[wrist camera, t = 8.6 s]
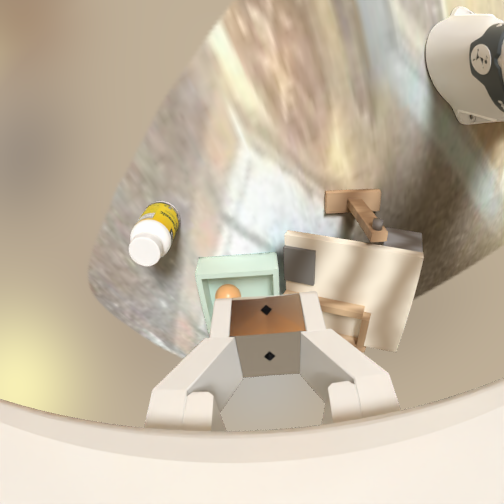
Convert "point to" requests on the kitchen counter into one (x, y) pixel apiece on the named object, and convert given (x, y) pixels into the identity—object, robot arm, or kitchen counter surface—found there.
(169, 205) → the supplement bottle
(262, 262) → the green square tray
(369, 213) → the lever stand
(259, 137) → the kitchen counter surface
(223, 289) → the ball
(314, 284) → the lever
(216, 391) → the robot arm
